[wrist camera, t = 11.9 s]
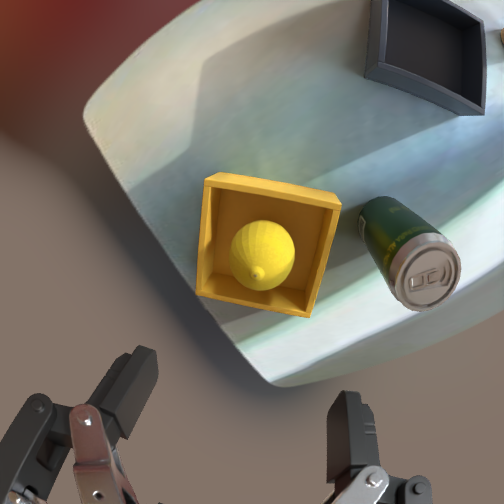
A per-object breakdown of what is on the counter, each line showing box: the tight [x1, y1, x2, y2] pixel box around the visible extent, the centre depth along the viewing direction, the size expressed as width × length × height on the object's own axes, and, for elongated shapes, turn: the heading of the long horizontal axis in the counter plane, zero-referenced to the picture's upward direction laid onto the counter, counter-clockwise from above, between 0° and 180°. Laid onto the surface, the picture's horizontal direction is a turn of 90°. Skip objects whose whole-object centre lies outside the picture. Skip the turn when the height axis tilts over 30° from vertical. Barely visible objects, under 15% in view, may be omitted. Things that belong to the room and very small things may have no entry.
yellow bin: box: [196, 172, 342, 318], centre depth 26 cm, size 11×11×5 cm
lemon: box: [229, 220, 295, 291], centre depth 24 cm, size 6×6×8 cm
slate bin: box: [364, 0, 487, 116], centre depth 15 cm, size 11×11×5 cm
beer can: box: [358, 196, 461, 312], centre depth 20 cm, size 5×5×12 cm
